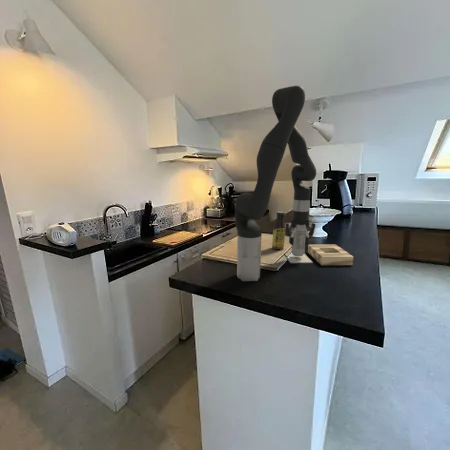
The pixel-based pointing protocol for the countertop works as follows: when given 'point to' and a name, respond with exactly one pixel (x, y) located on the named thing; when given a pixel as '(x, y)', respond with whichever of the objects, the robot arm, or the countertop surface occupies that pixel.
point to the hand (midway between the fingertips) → (298, 244)
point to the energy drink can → (299, 241)
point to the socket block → (330, 255)
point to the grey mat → (299, 259)
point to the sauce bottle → (279, 232)
